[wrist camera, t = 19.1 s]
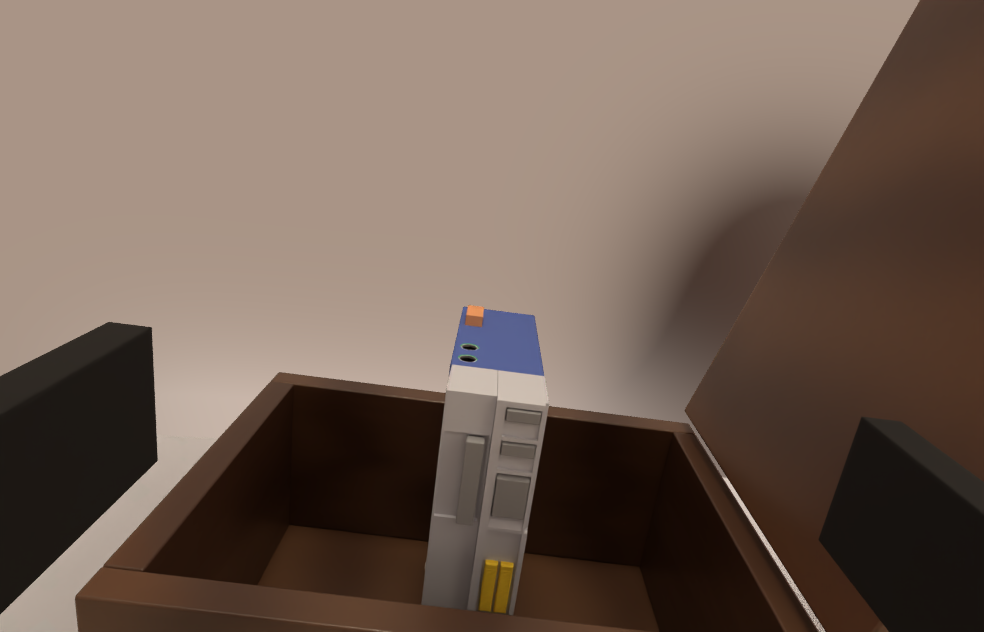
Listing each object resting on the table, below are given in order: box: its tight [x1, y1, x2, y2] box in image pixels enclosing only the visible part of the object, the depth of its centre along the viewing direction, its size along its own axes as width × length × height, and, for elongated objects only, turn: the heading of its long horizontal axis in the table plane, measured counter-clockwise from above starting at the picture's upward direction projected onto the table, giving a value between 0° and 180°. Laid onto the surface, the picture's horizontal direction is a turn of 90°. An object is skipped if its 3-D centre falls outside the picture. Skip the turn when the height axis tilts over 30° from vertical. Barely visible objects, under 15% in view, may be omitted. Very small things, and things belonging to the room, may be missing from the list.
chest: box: [75, 372, 819, 632], centre depth 21 cm, size 18×13×8 cm
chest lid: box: [685, 0, 984, 632], centre depth 17 cm, size 19×13×5 cm
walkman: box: [421, 305, 549, 615], centre depth 21 cm, size 8×3×12 cm, turn 179°
